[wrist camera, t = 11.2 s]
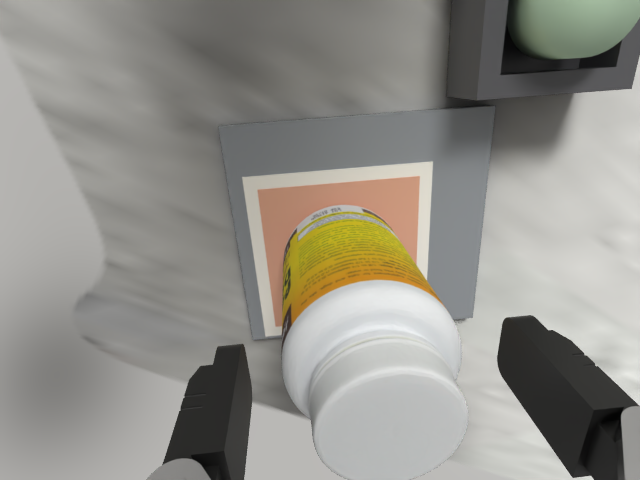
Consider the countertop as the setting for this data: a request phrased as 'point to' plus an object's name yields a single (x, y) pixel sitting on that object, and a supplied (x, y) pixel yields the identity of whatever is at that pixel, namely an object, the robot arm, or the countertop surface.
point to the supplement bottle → (368, 349)
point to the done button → (569, 26)
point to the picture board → (362, 193)
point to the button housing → (524, 60)
